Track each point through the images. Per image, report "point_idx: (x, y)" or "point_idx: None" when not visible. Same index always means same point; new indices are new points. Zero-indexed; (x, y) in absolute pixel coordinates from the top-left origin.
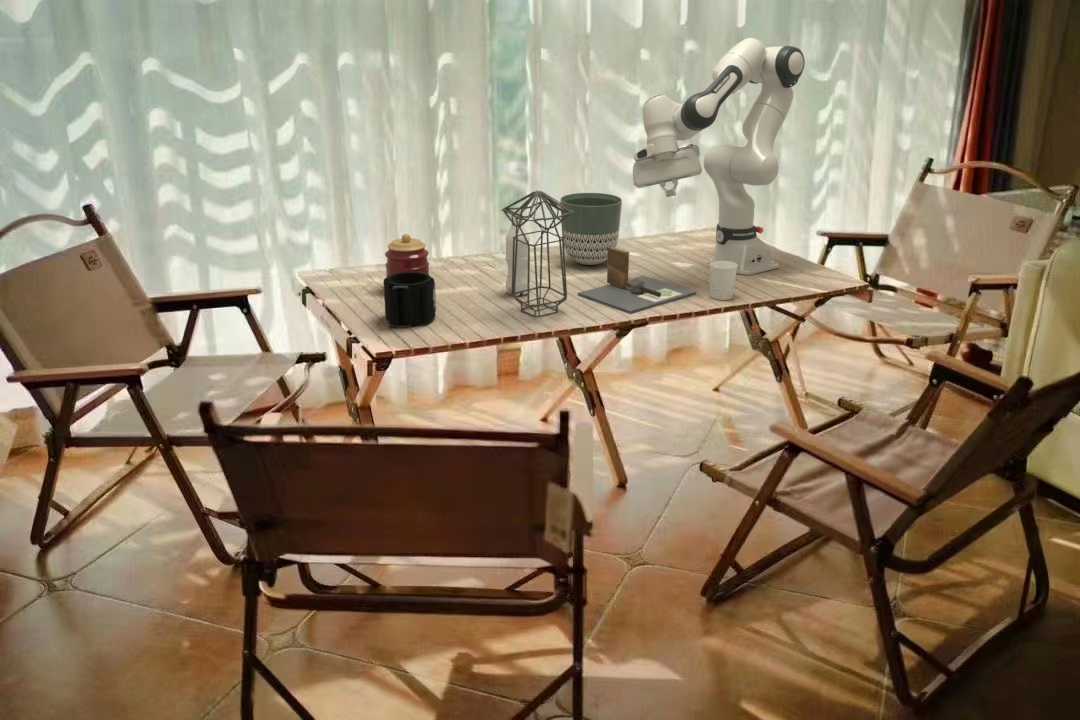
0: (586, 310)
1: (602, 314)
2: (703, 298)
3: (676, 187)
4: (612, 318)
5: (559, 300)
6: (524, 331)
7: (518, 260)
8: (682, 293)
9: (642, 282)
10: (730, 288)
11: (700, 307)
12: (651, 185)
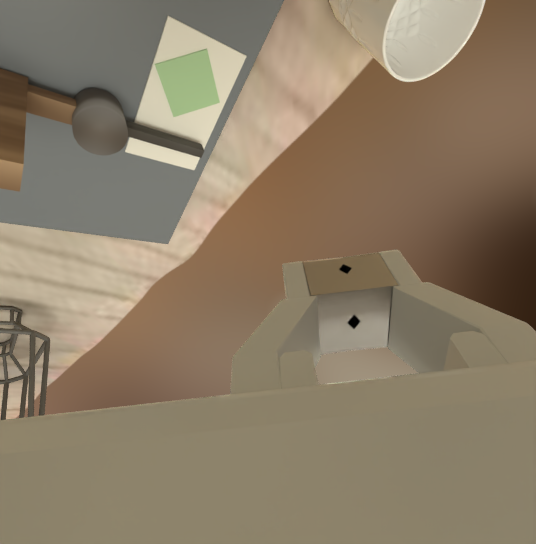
0: (64, 272)
1: (114, 269)
2: (308, 31)
3: (456, 295)
4: (147, 273)
5: (43, 349)
6: (53, 374)
7: None
8: (243, 44)
9: (125, 138)
10: (407, 20)
11: (306, 120)
12: (28, 424)
